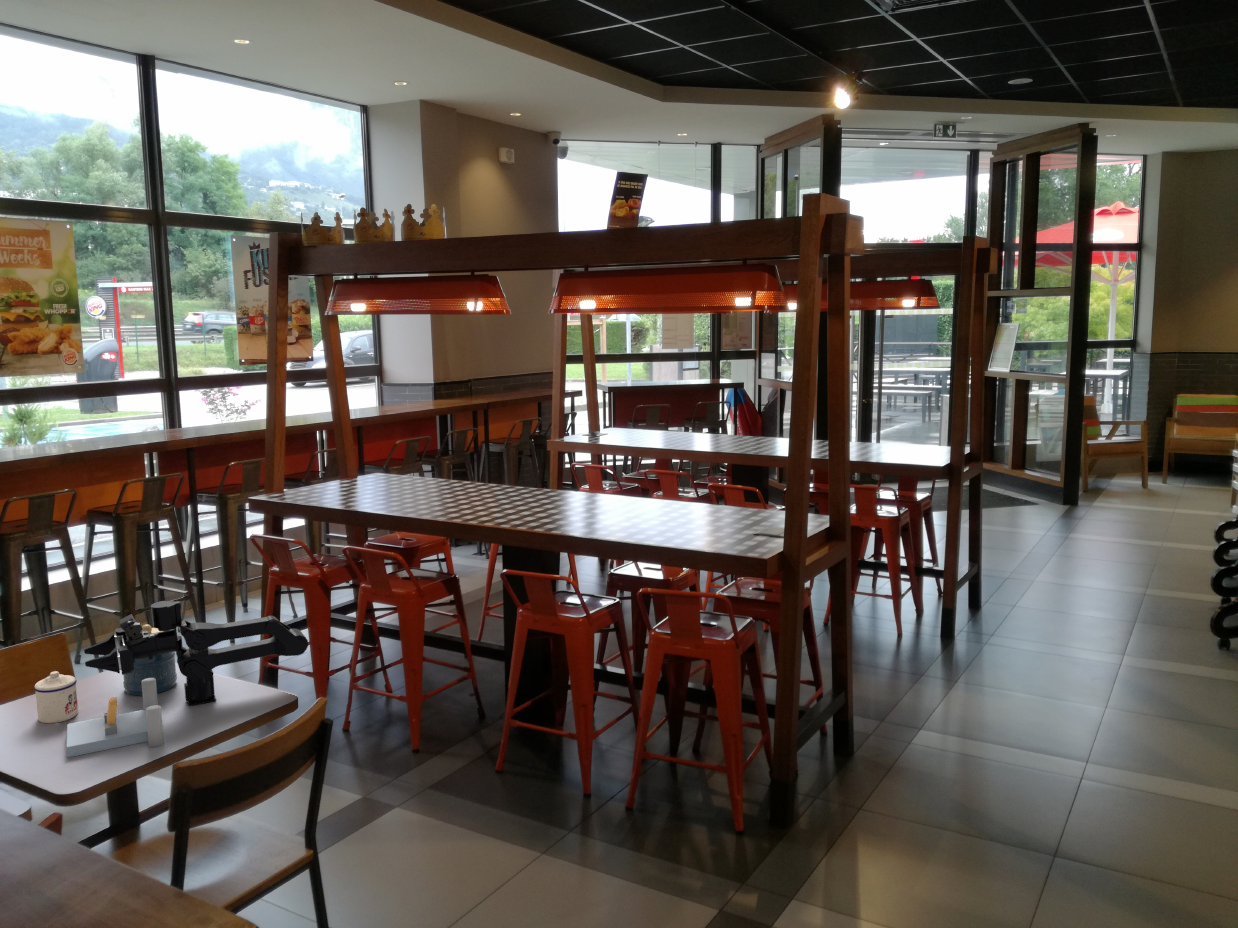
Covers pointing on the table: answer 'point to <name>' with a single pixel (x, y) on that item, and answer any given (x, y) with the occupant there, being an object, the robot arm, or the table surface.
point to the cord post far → (149, 692)
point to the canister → (152, 670)
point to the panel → (97, 737)
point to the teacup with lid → (56, 698)
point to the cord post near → (154, 726)
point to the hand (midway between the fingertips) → (84, 657)
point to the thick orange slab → (112, 710)
